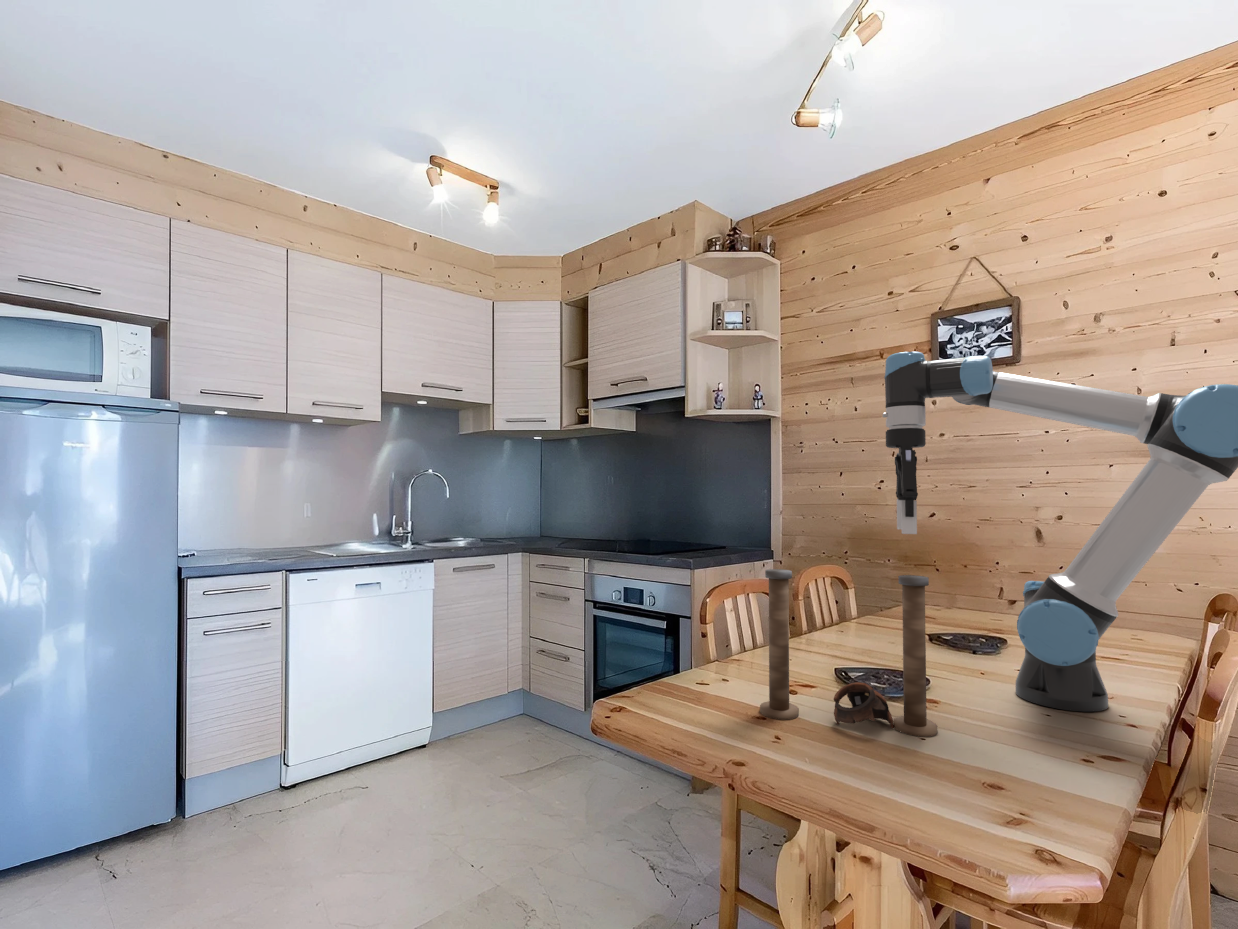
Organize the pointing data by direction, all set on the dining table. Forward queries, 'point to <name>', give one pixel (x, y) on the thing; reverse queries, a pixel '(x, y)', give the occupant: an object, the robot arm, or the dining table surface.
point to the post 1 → (779, 648)
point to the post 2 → (914, 659)
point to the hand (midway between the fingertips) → (906, 531)
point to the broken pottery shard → (861, 704)
